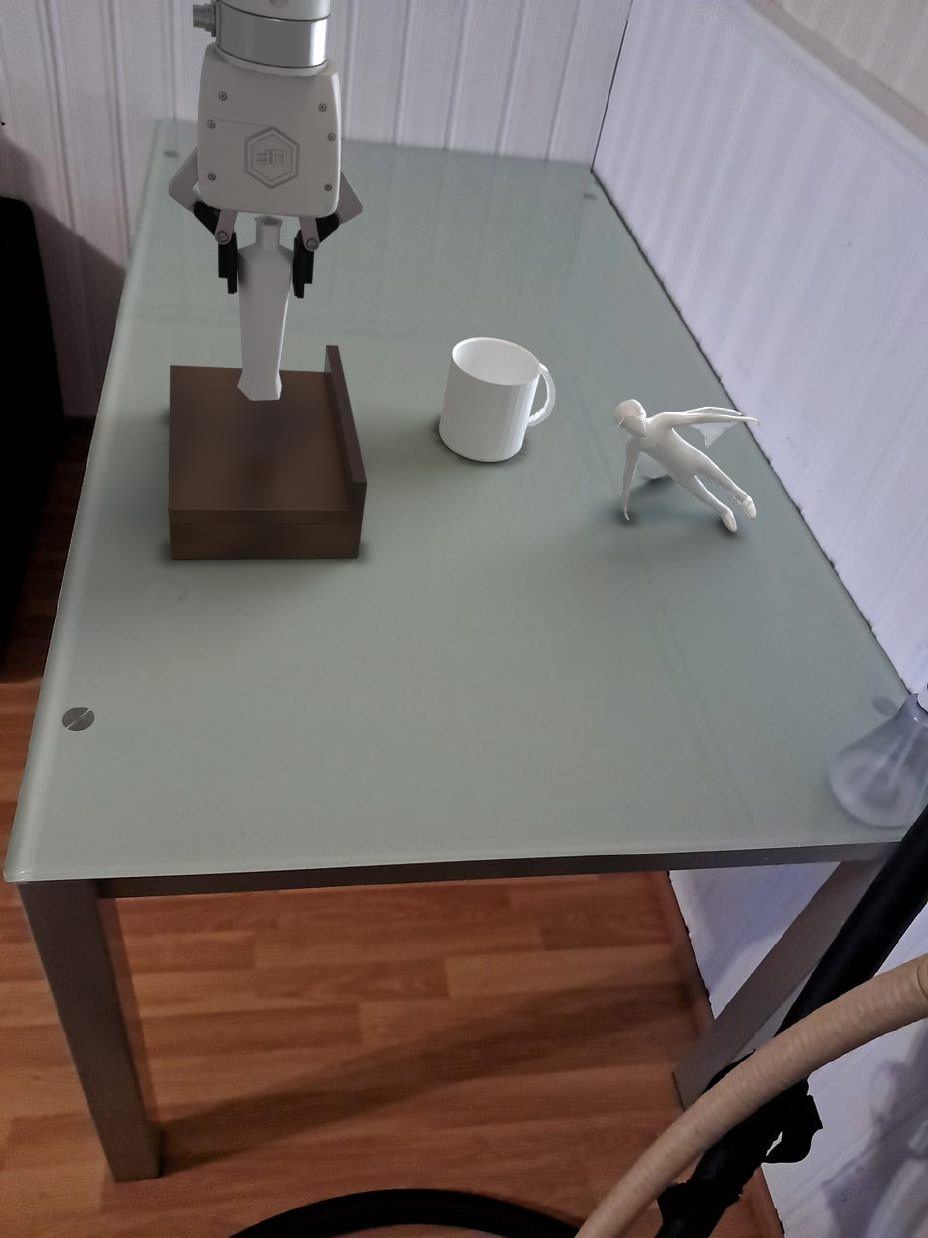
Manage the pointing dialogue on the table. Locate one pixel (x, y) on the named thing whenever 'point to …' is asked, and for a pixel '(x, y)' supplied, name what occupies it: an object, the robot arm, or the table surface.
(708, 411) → the figurine
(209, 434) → the wooden display stand
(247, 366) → the perfume bottle
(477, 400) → the mug
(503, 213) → the table surface
